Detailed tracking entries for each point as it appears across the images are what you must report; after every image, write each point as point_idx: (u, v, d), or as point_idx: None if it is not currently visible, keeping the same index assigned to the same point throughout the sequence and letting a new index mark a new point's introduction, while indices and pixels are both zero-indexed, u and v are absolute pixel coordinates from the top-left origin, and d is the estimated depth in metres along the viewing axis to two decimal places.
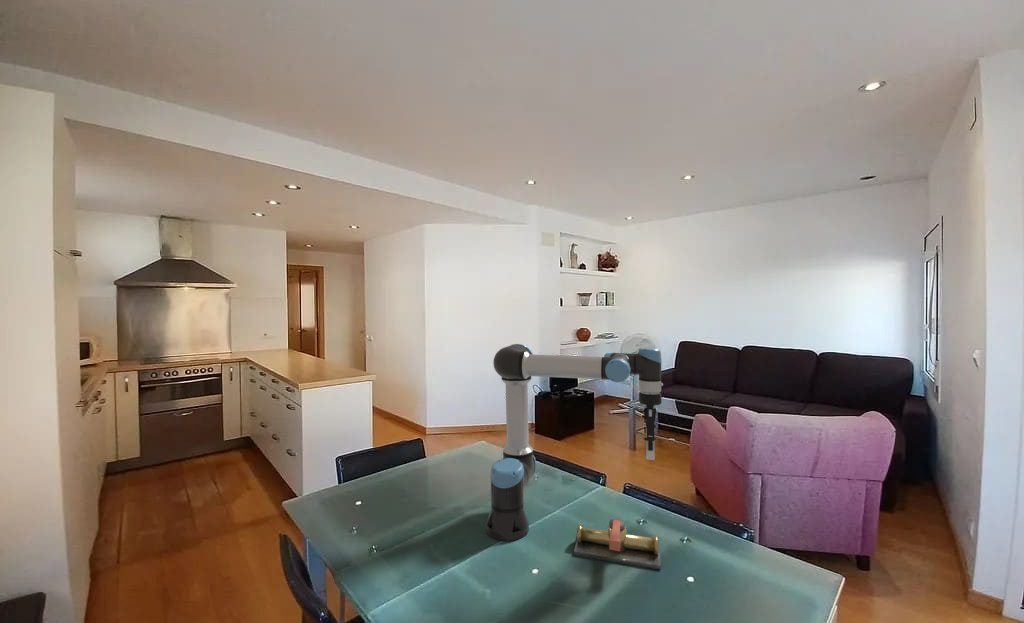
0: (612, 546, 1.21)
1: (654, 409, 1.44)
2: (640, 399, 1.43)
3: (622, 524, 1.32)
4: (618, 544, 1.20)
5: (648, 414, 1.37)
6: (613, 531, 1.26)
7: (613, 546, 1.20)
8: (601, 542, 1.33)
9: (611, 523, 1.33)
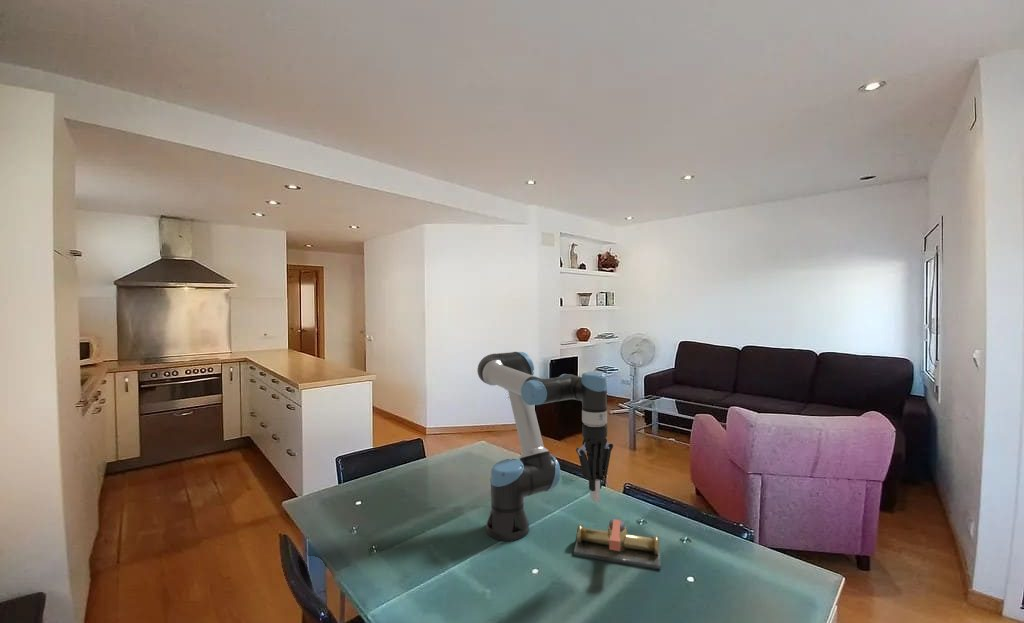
0: (612, 546, 1.21)
1: (600, 443, 1.25)
2: None
3: (622, 524, 1.32)
4: (618, 544, 1.20)
5: (578, 454, 1.24)
6: (613, 531, 1.26)
7: (613, 546, 1.20)
8: (601, 542, 1.33)
9: (611, 523, 1.33)
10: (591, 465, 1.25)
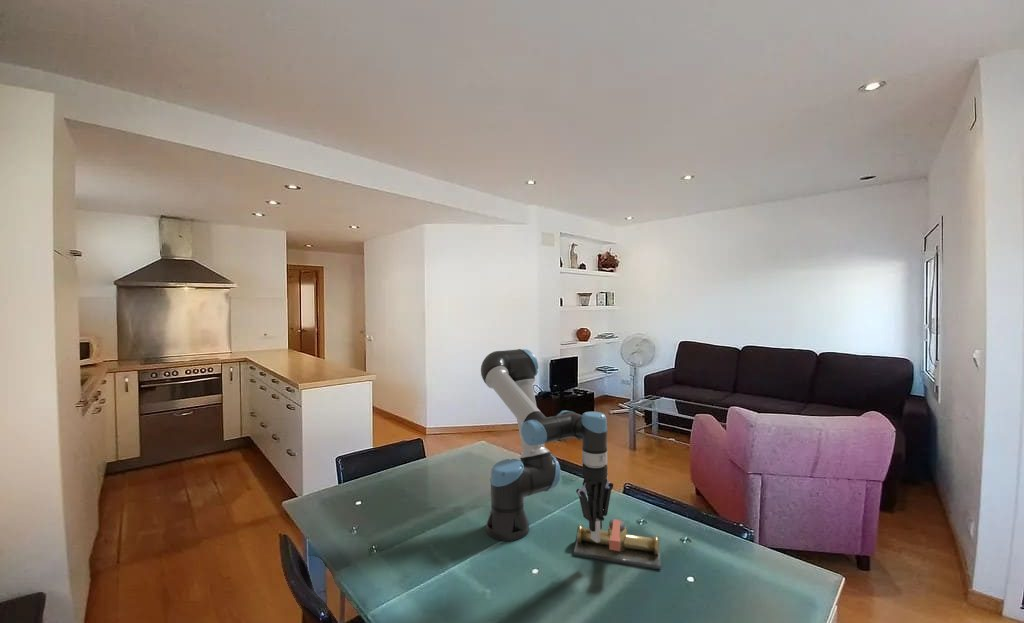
0: (612, 546, 1.21)
1: (600, 483, 1.25)
2: None
3: (622, 524, 1.32)
4: (618, 544, 1.20)
5: (578, 494, 1.24)
6: (613, 531, 1.26)
7: (613, 546, 1.20)
8: (601, 542, 1.33)
9: (611, 523, 1.33)
10: (591, 505, 1.25)
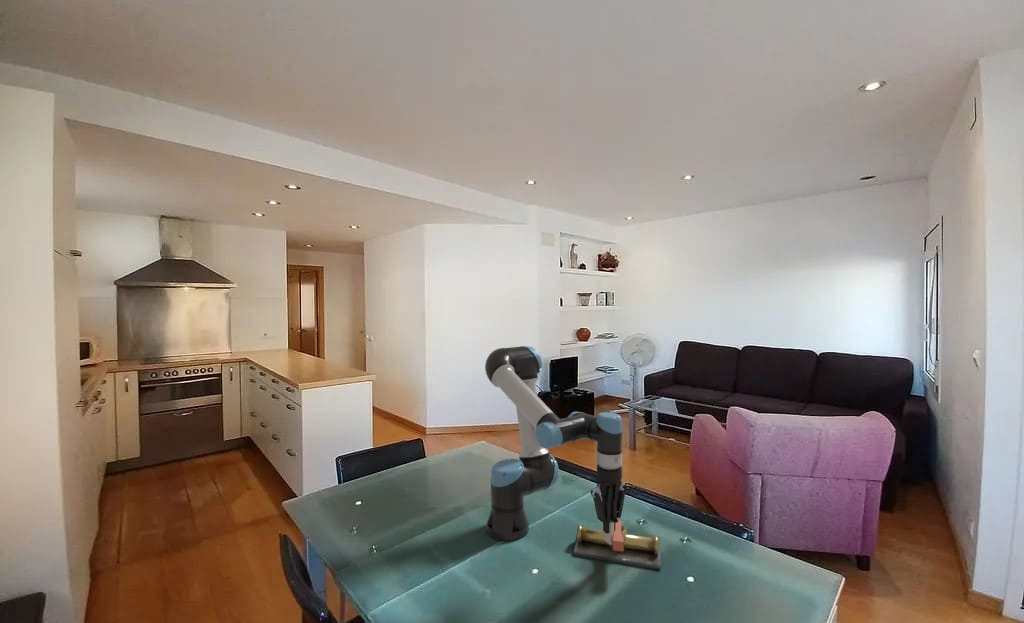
0: (616, 547, 1.20)
1: (615, 485, 1.24)
2: None
3: (622, 524, 1.32)
4: (622, 544, 1.20)
5: (593, 496, 1.23)
6: (615, 532, 1.26)
7: (617, 547, 1.20)
8: (601, 542, 1.33)
9: None
10: (605, 507, 1.24)
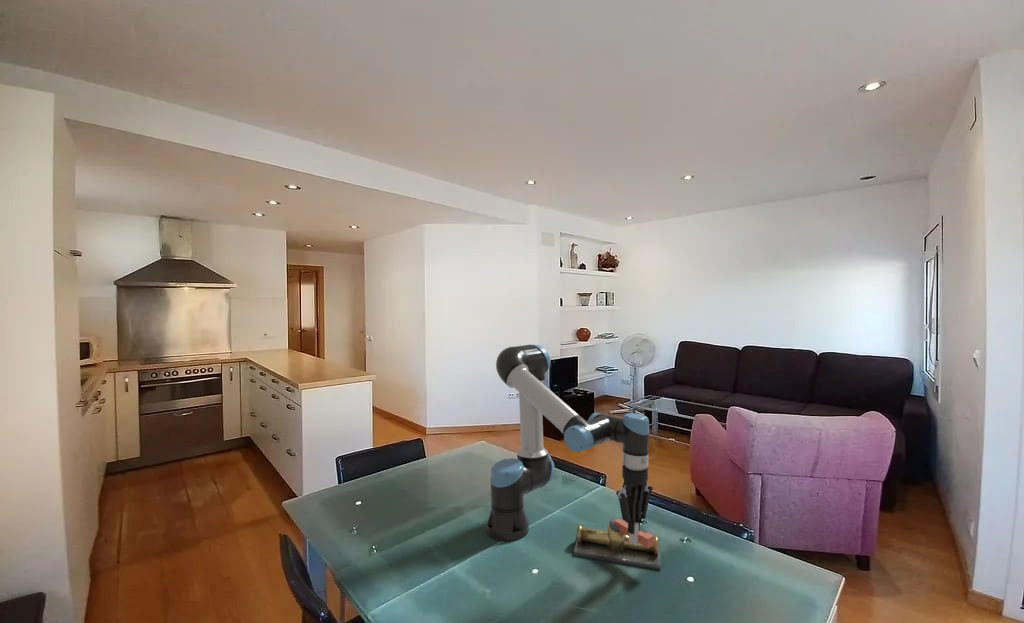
0: (649, 544, 1.22)
1: (640, 486, 1.24)
2: None
3: None
4: (653, 539, 1.22)
5: (618, 496, 1.23)
6: None
7: (650, 543, 1.22)
8: (601, 542, 1.33)
9: (615, 525, 1.32)
10: (631, 508, 1.24)
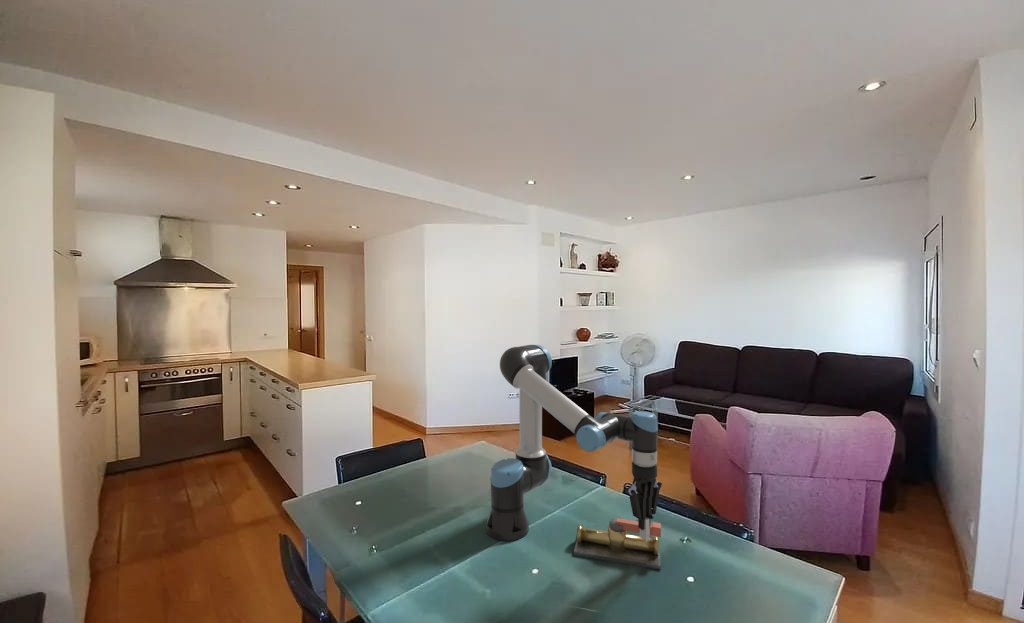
0: (660, 532, 1.28)
1: (650, 482, 1.26)
2: None
3: None
4: (660, 526, 1.29)
5: (629, 493, 1.25)
6: None
7: (660, 531, 1.28)
8: (601, 542, 1.33)
9: (619, 525, 1.31)
10: (641, 504, 1.26)
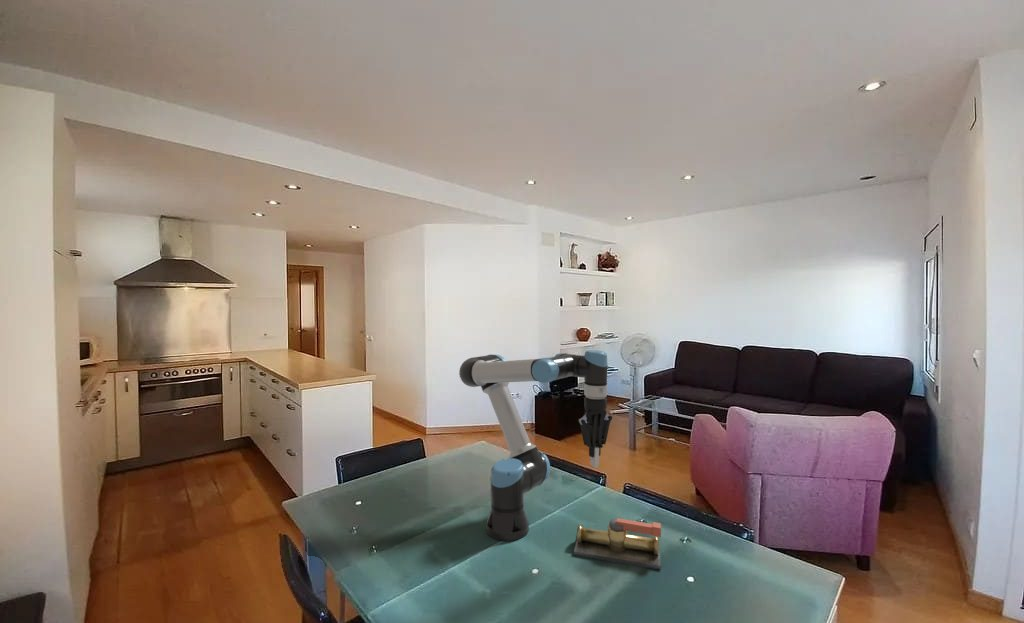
0: (660, 532, 1.28)
1: (600, 414, 1.38)
2: None
3: None
4: (660, 526, 1.29)
5: (580, 423, 1.37)
6: (641, 524, 1.30)
7: (660, 531, 1.28)
8: (601, 542, 1.33)
9: (619, 525, 1.31)
10: (591, 434, 1.37)
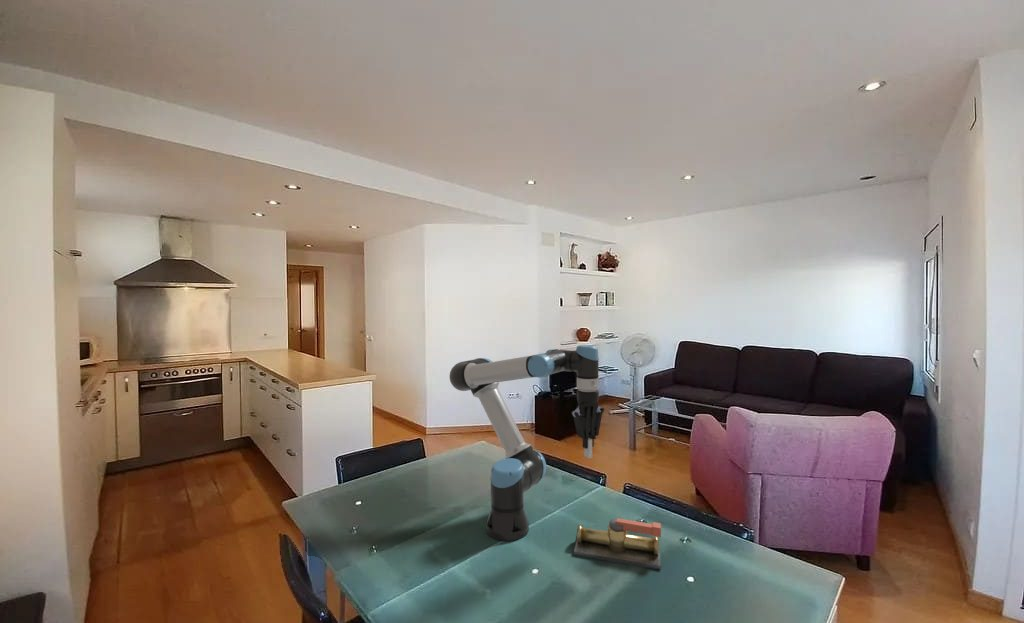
0: (660, 532, 1.28)
1: (592, 407, 1.43)
2: None
3: None
4: (660, 526, 1.29)
5: (573, 415, 1.41)
6: (641, 524, 1.30)
7: (660, 531, 1.28)
8: (601, 542, 1.33)
9: (619, 525, 1.31)
10: (584, 426, 1.42)
